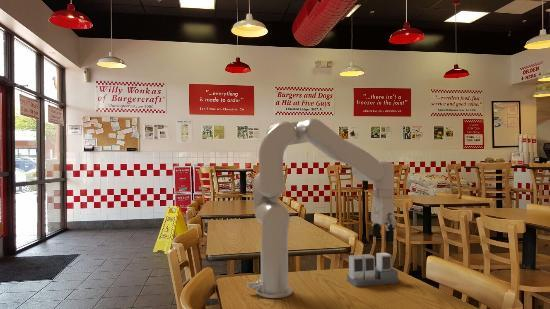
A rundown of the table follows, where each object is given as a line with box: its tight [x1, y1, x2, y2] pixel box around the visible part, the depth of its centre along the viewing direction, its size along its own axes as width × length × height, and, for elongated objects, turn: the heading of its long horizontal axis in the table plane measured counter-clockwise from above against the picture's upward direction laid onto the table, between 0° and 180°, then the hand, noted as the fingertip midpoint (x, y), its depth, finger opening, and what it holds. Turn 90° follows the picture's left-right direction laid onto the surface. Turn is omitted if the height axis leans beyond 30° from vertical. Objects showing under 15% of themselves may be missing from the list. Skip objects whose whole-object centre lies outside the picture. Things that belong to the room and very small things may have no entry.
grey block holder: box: [346, 253, 400, 288], centre depth 153 cm, size 17×8×10 cm, turn 104°
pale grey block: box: [375, 252, 392, 272], centre depth 154 cm, size 4×4×8 cm
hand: (382, 238), depth 154 cm, fingers open, 9 cm apart
